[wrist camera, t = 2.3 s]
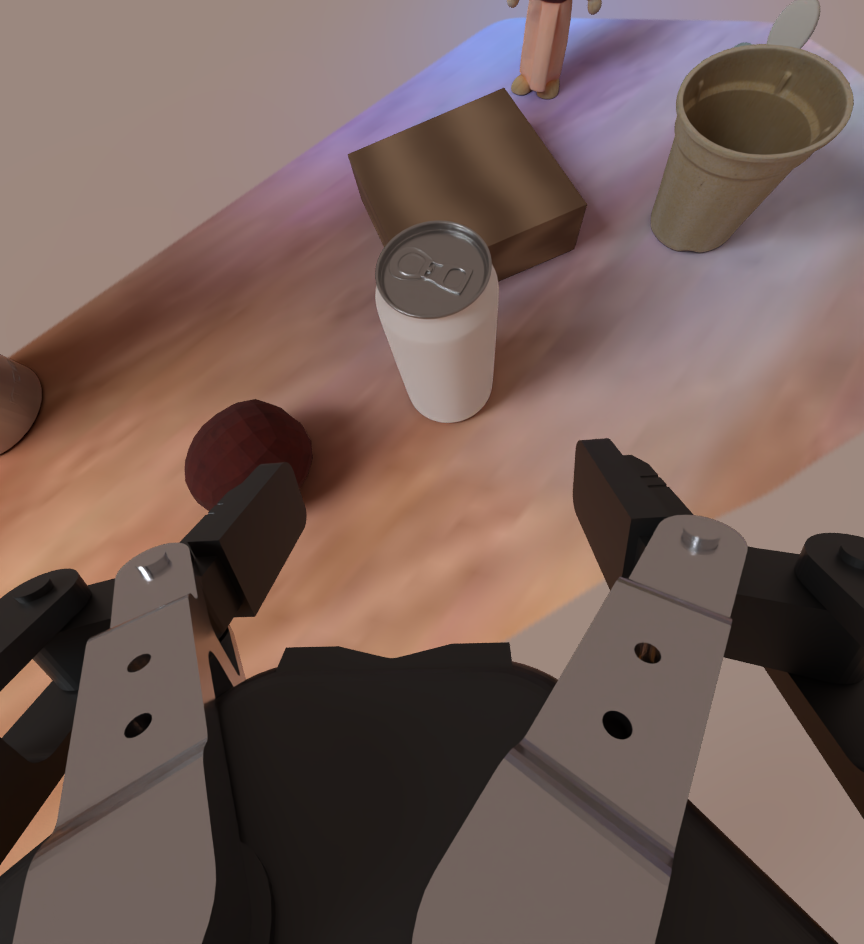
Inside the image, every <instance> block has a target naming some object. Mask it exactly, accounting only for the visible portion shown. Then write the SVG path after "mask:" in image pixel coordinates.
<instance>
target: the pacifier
mask: <svg viewBox="0 0 864 944" xmlns="http://www.w3.org/2000/svg"><path fill="white" fill-rule="evenodd" d="M819 16H820V4H819V1H818V0H795V1H793V2H792V3H791V4H789V5H788V6H787V7H786V8H785V9H784V10H783V11H782V13H781V14H780V15H779V16H778V18H777V19H776V21H775V23H774V24H773V26H772V29H771V31H770V33H769V36H768V40H767V44H769V45H782V46H790V47H794V48H798V49H801V48H802V47H803V45H804V44H805V43H806V42H807V41H808V39H809V38H810V37H811V35H812V33H813V32H814V30H815V27H816V26H817V23H818V20H819ZM745 45H752V44H750V43H740V44H738V45H737V46H735V47H740V46H745ZM735 47H734V48H735Z"/></svg>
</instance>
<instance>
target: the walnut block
mask: <svg viewBox="0 0 864 944" xmlns="http://www.w3.org/2000/svg"><path fill="white" fill-rule="evenodd" d="M348 157H349V160H350V163H351V167H352V170H353V173H354V176H355V180H356V183H357V186H358V189H359V193H360V196H361V199H362V201H363V204H364V206H365V208H366V210H367V212H368V214H369V216H370V218H371V220H372V223H373V225H374V227H375V229H376V231H377V233H378V235H379V237H380V239H381V242H382V244H383V246H384V247H385V246H386V245H387V244H388V242H389V241H390V240H391V239H392V238H394V237H395V236H396V235H397V234H399V233H400V232H402V231H403V230H405V229H407V228H409V227H411V226H413V225H416V224H419V223H423V222H428V221H451V222H455V223H459V224H462V225H464V226H466V227H468V228H470V229H472V230H473V231H475V232H476V233H477V234H478V235H479V236H480V237H481V238H482V239H483V240H484V242H485V243H486V245H487V247H488V249H489V251H490V254H491V259H492V265H493V267H494V269H495V271H496V274H497V278H498V281H500V280H503V279H505V278H507V277H510V276H512V275H514V274H517V273H519V272H521V271H524V270H526V269H528V268H531V267H533V266H535V265H538V264H540V263H543V262H545V261H547V260H550V259H552V258H554V257H557V256H559V255H561V254H564V253H566V252H568V251H571V250H573V249H574V248H575V244H576V241H577V238H578V234H579V231H580V227H581V224H582V220H583V217H584V213H585V210H586V206H587V203H586V202H585V201H584V199H583V198H582V196H581V195H580V194H579V192H578V191H577V189H576V188H575V187H574V185H573V184H572V182H571V181H570V180H569V178H568V177H567V175H566V174H565V173H564V171H563V170H562V168H561V167H560V166H559V164H558V163H557V161H556V160H555V159H554V157H553V156H552V154H551V153H550V152H549V150H548V149H547V147H546V146H545V144H544V143H543V142H542V140H541V139H540V137H539V136H538V135H537V133H536V132H535V130H534V129H533V128H532V126H531V125H530V123H529V122H528V121H527V119H526V118H525V116H524V115H523V114H522V112H521V111H520V109H519V108H518V107H517V105H516V104H515V102H514V101H513V100H512V98H511V97H510V95H509V94H508V92H507V91H506V90H505V88H502V89H500V90H498V91H495V92H493V93H491V94H488V95H486V96H484V97H481V98H479V99H477V100H474V101H472V102H470V103H467V104H465V105H462V106H460V107H458V108H455V109H453V110H451V111H448V112H446V113H444V114H441V115H439V116H437V117H434V118H432V119H430V120H427V121H425V122H423V123H420V124H418V125H416V126H413V127H411V128H409V129H406V130H404V131H401V132H399V133H397V134H394V135H392V136H390V137H387V138H385V139H383V140H380V141H378V142H376V143H373V144H371V145H369V146H366V147H364V148H362V149H359V150H357V151H355V152H352V153H350V154H348Z"/></svg>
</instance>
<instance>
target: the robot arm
mask: <svg viewBox="0 0 864 944" xmlns="http://www.w3.org/2000/svg"><path fill="white" fill-rule="evenodd" d="M41 400H42V389H41V385H40V381H39V379H38V377H37V375H36V374H35V373H34V372H33V371H32V370H31V369H30V368H28V367H26V366H24V365H22V364H20V363H17V362H15V361H13V360H11V359H9V358H7V357H5V356H3V355H1V354H0V454H1V453H3V452H5V451H6V450H8V449H9V448H11V447H12V446H13V445H15V444H16V443H17V442H18V441H19V440H20V439H21V438H22V437H23V436H24V435H25V434H26V432H27V431H28V430H29V429H30V427H31V425H32V424H33V422H34V421H35V419H36V416H37V414H38V411H39V409H40V404H41ZM573 503H574V508H575V512H576V515H577V517H578V519H579V522H580V524H581V526H582V528H583V531H584V533H585V535H586V537H587V540H588V542H589V544H590V546H591V549H592V551H593V553H594V555H595V558H596V560H597V562H598V564H599V567H600V569H601V571H602V573H603V576H604V578H605V580H606V582H607V585H608V587H609V589H610V592H609V594H608V596H607V597H606V599H605V601H604V603H603V604H602V606H601V608H600V609H599V611H598V613H597V615H596V616H595V618H594V620H593V622H592V623H591V625H590V627H589V628H588V630H587V632H586V633H585V635H584V637H583V639H582V640H581V642H580V644H579V645H578V647H577V649H576V651H575V652H574V654H573V656H572V657H571V659H570V661H569V663H568V664H567V666H566V668H565V669H564V671H563V673H562V675H561V676H560V678H559V680H557V679H556V678H554V677H553V676H551V675H549V674H547V673H545V672H543V671H540V670H538V669H536V668H533V667H530V666H527V665H525V664H521V663H517V662H513V661H512V659H511V652H510V644H509V642H508V643H465V644H449V645H445V646H441V647H437V648H434V649H430V650H426V651H422V652H418V653H414V654H410V655H406V656H402V657H398V658H385V657H381V656H377V655H372V654H368V653H364V652H360V651H356V650H351V649H347V648H343V647H339V646H336V647H293V648H286V649H285V651H284V654H283V656H282V658H281V660H280V663H279V665H278V667H277V668H273V669H270V670H267V671H265V672H262V673H259V674H257V675H255V676H253V677H251V678H249V679H246V678H245V674H244V670H243V666H242V663H241V659H240V655H239V651H238V647H237V644H236V640H235V636H234V633H233V631H232V629H231V627H230V625H229V624H230V622H231V621H232V619H233V617H255V616H256V614H257V612H258V611H259V609H260V607H261V605H262V603H263V602H264V600H265V598H266V596H267V594H268V593H269V591H270V589H271V587H272V585H273V584H274V582H275V580H276V578H277V576H278V575H279V573H280V571H281V569H282V567H283V566H284V564H285V562H286V560H287V558H288V557H289V555H290V553H291V551H292V549H293V548H294V546H295V544H296V542H297V540H298V539H299V537H300V535H301V533H302V531H303V530H304V528H305V524H306V508H305V505H304V502H303V499H302V496H301V493H300V490H299V486H298V483H297V480H296V477H295V474H294V471H293V469H292V467H291V465H290V464H289V463H287V462H282V463H269V464H260V465H259V466H258V467H257V468H256V469H255V470H254V471H253V472H252V473H251V474H250V475H249V476H248V477H247V478H246V479H245V480H244V482H243V483H241V484H240V485H238V486H237V487H235V488H233V489H232V490H230V491H229V492H227V493H226V494H225V495H224V497H223V498H222V499H221V500H220V501H219V502H218V503H217V505H215V506H214V507H213V508H212V509H211V510H210V511H209V512H208V513H209V514H208V515H205V516H204V517H203V518H202V520H201V521H200V522H199V523H198V524H197V525H196V526H195V527H194V528H193V529H192V530H191V531H190V532H189V533H188V534H187V535H186V536H185V537H184V538H183V539H182V540H181V541H180V543H168V544H163V545H160V546H157V547H154V548H151V549H149V550H147V551H145V552H143V553H141V554H139V555H137V556H135V557H134V558H133V559H131V560H130V561H128V562H127V563H126V564H125V565H124V566H123V567H122V568H121V569H120V570H119V571H118V573H117V575H116V578H115V579H111V580H107V581H103V582H99V583H95V584H91V585H88V586H87V585H86V583H85V582H84V580H83V579H82V578H81V576H80V575H79V574H78V572H77V571H76V570H74V569H59V570H55V571H51V572H48V573H45V574H42V575H39V576H37V577H35V578H33V579H30V580H28V581H26V582H24V583H23V584H21V585H19V586H17V587H16V588H14V589H13V590H11V591H10V592H8V593H7V594H6V595H4V596H3V597H2V598H1V599H0V691H1V690H2V689H3V688H4V687H5V686H6V685H7V684H8V683H9V682H10V681H11V680H12V679H13V678H14V677H15V676H16V675H17V674H18V673H19V672H20V671H21V670H22V669H23V668H24V667H25V666H26V665H27V664H28V663H29V662H30V661H31V660H32V659H33V660H34V661H35V662H36V663H37V664H38V665H39V666H40V667H41V668H42V669H43V670H44V671H45V673H46V674H47V675H48V676H49V677H50V678H51V679H52V680H53V681H52V682H51V683H50V684H49V686H48V687H47V688H46V689H45V690H44V691H43V692H42V693H41V695H40V696H39V697H38V698H37V699H36V700H35V701H34V702H33V704H32V705H31V706H30V707H29V708H28V709H27V710H26V711H25V713H24V714H23V715H22V716H21V717H20V718H19V719H18V720H17V722H16V723H15V724H14V725H13V726H12V727H11V728H10V729H9V731H8V732H7V733H6V734H5V735H4V736H3V737H2V738H0V865H1V863H2V862H3V860H4V859H5V857H6V856H7V855H8V853H9V852H10V850H11V849H12V848H13V846H14V845H15V843H16V842H17V840H18V839H19V838H20V836H21V835H22V833H23V832H24V831H25V829H26V828H27V826H28V825H29V823H30V822H31V821H32V819H33V818H34V816H35V815H36V814H37V812H38V811H39V809H40V808H41V806H42V805H43V804H44V802H45V801H46V799H47V798H48V797H49V795H50V794H51V792H52V791H53V789H54V788H55V787H56V785H57V784H58V782H59V781H60V780H61V778H62V777H63V775H64V774H65V776H64V782H63V789H62V795H61V801H60V807H59V813H58V819H57V823H56V826H55V829H54V831H53V833H52V834H51V835H50V836H49V837H47V838H46V839H45V840H44V841H43V842H41V843H40V844H39V845H38V846H36V847H35V848H34V849H33V850H32V851H30V852H29V853H28V854H27V855H26V856H24V857H23V858H22V859H21V860H19V861H18V862H17V863H16V864H15V865H13V866H12V867H11V868H10V869H9V870H7V871H6V872H5V873H4V874H2V875H1V876H0V944H838V943H837V942H836V941H835V940H834V939H833V938H832V937H831V936H830V935H829V934H828V933H827V932H826V931H825V930H824V929H823V928H822V927H821V926H819V925H818V923H817V922H816V921H814V920H813V919H812V918H811V917H810V916H809V915H808V914H807V913H806V912H805V911H804V910H803V909H802V908H801V907H800V906H799V905H798V904H797V903H796V902H795V901H794V900H793V899H792V898H791V897H789V896H788V895H787V894H786V893H785V892H784V891H783V890H782V889H781V888H780V887H779V886H778V885H777V884H776V883H775V882H774V881H773V880H772V879H771V878H770V877H769V876H768V875H767V874H765V872H763V871H762V870H761V869H760V868H759V867H758V866H757V865H756V864H755V863H754V862H753V861H752V860H751V859H750V858H749V857H748V856H747V855H746V854H745V853H744V852H743V851H742V850H741V849H740V848H738V847H737V846H736V845H735V844H734V843H733V842H732V841H731V840H730V839H729V838H728V837H727V836H726V835H725V834H724V833H723V832H722V831H721V830H720V829H719V828H718V827H717V826H716V825H715V824H714V823H712V822H711V821H710V820H709V819H708V818H707V817H706V816H705V815H704V814H703V813H702V812H701V811H700V810H699V809H698V808H697V807H696V806H695V805H694V804H693V803H692V802H691V801H690V800H689V799H688V795H689V791H690V787H691V783H692V779H693V776H694V772H695V768H696V764H697V760H698V756H699V752H700V748H701V744H702V740H703V736H704V732H705V727H706V724H707V720H708V716H709V712H710V708H711V704H712V700H713V696H714V692H715V688H716V684H717V680H718V676H719V672H720V668H721V664H722V660H723V657H725V658H729V659H733V660H738V661H742V662H746V663H750V664H754V665H758V666H763V667H764V668H765V670H766V671H767V673H768V674H769V676H770V677H771V679H772V680H773V682H774V684H775V685H776V687H777V688H778V690H779V691H780V693H781V694H782V696H783V697H784V699H785V700H786V702H787V703H788V705H789V706H790V708H791V709H792V711H793V712H794V714H795V715H796V717H797V719H798V720H799V721H800V723H801V724H802V726H803V727H804V729H805V730H806V732H807V734H808V735H809V737H810V738H811V739H812V741H813V743H814V744H815V746H816V747H817V749H818V750H819V752H820V753H821V755H822V756H823V758H824V759H825V761H826V763H827V764H828V766H829V767H830V768H831V770H832V772H833V773H834V775H835V776H836V778H837V779H838V781H839V782H840V784H841V785H842V786H843V788H844V790H845V791H846V793H847V794H848V796H849V797H850V799H851V800H852V802H853V803H854V805H855V807H856V808H857V809H858V811H859V813H860V814H861V816H862V817H863V819H864V538H863V537H859V536H854V535H849V534H841V533H822V534H817V535H814V536H811V537H810V538H808V539H807V541H806V542H805V544H804V547H803V549H802V551H801V553H800V554H793V553H786V552H780V551H772V550H766V549H759V548H753V547H748V546H747V543H746V541H745V539H744V538H743V537H742V536H741V535H740V534H739V533H738V532H737V531H736V530H734V529H733V528H731V527H730V526H728V525H726V524H724V523H721V522H719V521H716V520H714V519H710V518H707V517H702V516H696V515H693V514H692V513H691V511H690V510H689V509H688V508H687V507H686V506H685V505H684V504H683V502H682V501H681V500H680V499H679V498H678V497H677V496H676V495H675V493H674V492H673V491H672V490H671V489H670V488H669V487H667V486H666V483H665V482H664V481H663V480H662V479H661V478H660V477H658V474H657V473H656V472H655V471H654V470H653V469H652V468H651V466H650V465H649V464H648V463H646V462H644V461H642V460H640V459H638V458H636V457H634V456H632V455H622V454H621V452H620V451H619V450H618V449H617V447H616V446H615V445H614V444H613V442H612V441H611V440H610V439H609V438H605V439H592V440H579V441H578V442H577V445H576V453H575V468H574V482H573Z"/></svg>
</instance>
